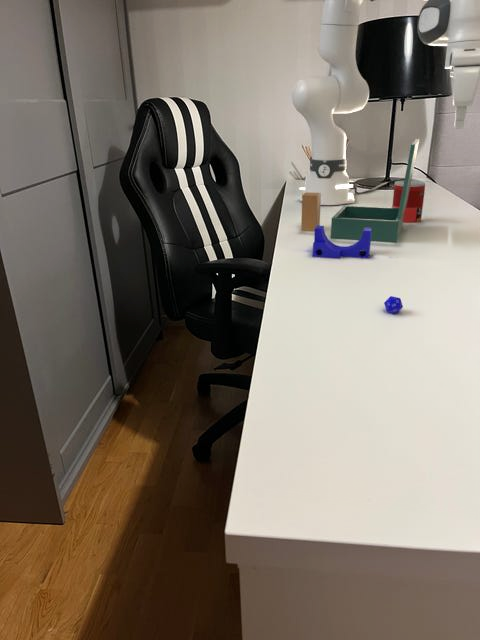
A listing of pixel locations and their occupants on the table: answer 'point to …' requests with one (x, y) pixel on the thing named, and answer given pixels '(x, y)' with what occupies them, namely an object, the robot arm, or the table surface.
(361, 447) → the table surface
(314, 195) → the carton
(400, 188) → the canned food
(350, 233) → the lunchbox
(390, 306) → the die
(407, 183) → the lid
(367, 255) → the blue curved bracket
